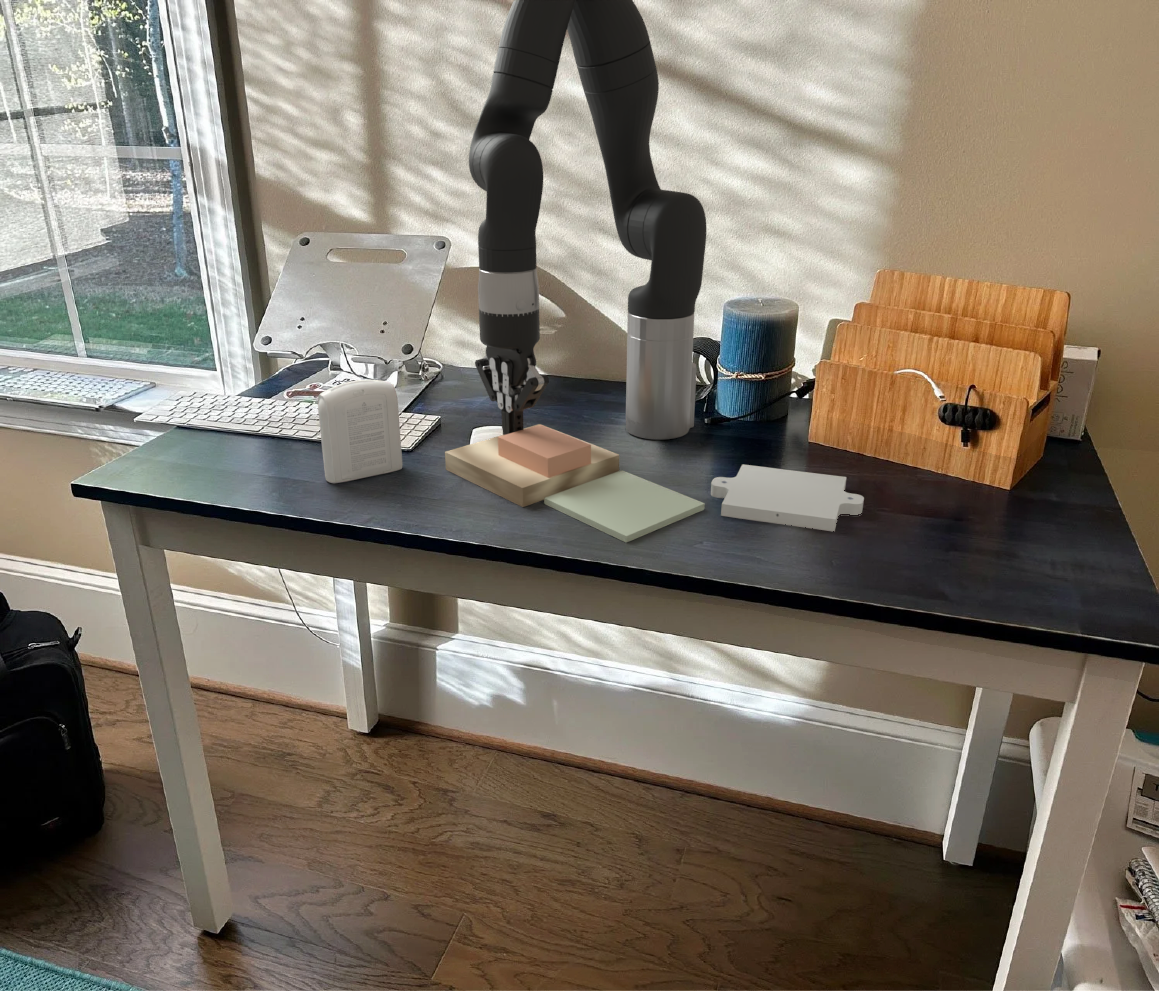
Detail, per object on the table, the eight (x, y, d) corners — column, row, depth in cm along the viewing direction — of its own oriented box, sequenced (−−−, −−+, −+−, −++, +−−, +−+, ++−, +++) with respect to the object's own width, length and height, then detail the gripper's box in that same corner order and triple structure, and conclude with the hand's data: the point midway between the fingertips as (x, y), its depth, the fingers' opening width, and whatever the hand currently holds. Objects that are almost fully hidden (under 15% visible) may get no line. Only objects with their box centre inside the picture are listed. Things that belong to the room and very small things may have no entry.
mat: (621, 475, 122) (621, 470, 122) (704, 509, 113) (704, 503, 113) (544, 503, 115) (544, 497, 114) (626, 542, 105) (626, 536, 105)
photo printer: (395, 460, 128) (387, 371, 123) (408, 470, 124) (401, 379, 119) (320, 476, 123) (309, 384, 118) (332, 487, 119) (321, 393, 114)
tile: (540, 442, 127) (540, 424, 126) (591, 463, 120) (591, 444, 119) (498, 455, 122) (497, 436, 121) (548, 477, 116) (547, 458, 115)
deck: (539, 440, 134) (539, 423, 133) (619, 472, 123) (619, 454, 122) (445, 469, 125) (444, 451, 124) (522, 507, 114) (522, 488, 113)
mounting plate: (699, 515, 112) (700, 501, 112) (722, 475, 124) (723, 462, 123) (857, 538, 107) (859, 522, 106) (865, 493, 118) (867, 479, 117)
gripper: (566, 309, 116) (567, 443, 123) (501, 292, 125) (505, 417, 132) (517, 319, 111) (521, 457, 118) (453, 300, 120) (460, 429, 127)
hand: (512, 436), depth 125 cm, fingers closed
